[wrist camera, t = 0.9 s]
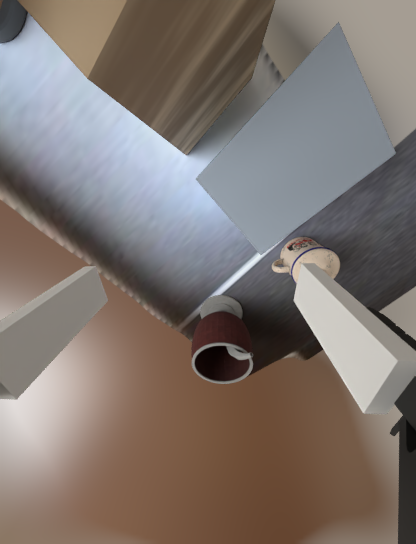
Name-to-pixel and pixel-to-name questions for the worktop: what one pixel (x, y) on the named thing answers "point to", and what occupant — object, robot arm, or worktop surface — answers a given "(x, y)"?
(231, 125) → the worktop surface
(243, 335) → the mate gourd
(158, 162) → the worktop surface
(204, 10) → the oak stand
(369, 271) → the worktop surface
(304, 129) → the slate base
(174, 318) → the worktop surface
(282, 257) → the teacup with lid
